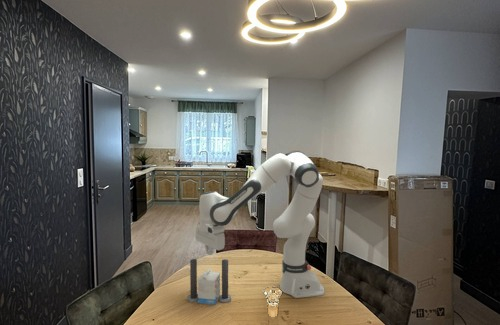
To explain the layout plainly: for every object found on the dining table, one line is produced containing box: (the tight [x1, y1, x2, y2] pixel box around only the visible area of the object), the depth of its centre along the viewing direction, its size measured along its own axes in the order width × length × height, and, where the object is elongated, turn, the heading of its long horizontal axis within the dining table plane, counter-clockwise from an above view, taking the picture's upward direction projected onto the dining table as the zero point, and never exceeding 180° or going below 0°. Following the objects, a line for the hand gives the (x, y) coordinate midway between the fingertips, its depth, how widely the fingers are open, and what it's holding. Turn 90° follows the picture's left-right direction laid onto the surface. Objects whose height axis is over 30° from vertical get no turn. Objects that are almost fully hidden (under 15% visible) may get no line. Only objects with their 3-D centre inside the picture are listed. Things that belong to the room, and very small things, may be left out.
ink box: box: [197, 268, 221, 306], centre depth 130 cm, size 9×8×13 cm
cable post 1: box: [186, 258, 198, 304], centre depth 130 cm, size 6×6×19 cm
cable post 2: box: [218, 258, 232, 304], centre depth 130 cm, size 6×6×19 cm
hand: (209, 254), depth 130 cm, fingers closed
